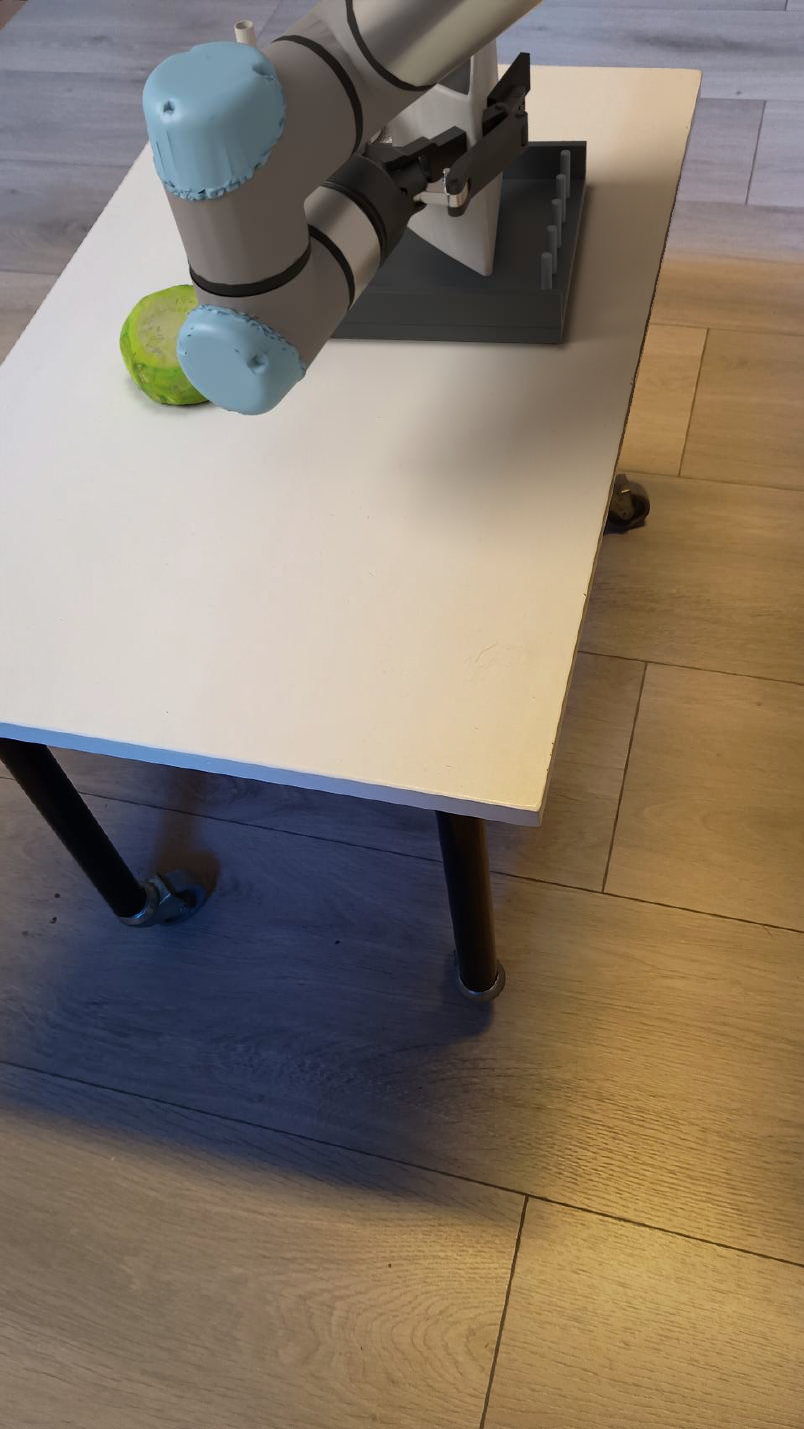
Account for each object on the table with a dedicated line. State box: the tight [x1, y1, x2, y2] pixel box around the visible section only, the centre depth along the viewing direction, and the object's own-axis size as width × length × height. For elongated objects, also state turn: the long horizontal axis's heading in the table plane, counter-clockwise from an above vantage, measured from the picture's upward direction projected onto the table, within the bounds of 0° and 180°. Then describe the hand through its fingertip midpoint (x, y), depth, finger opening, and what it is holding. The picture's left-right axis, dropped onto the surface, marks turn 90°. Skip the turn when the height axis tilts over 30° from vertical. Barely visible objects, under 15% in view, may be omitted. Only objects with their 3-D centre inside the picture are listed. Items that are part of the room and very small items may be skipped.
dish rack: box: [329, 140, 588, 345], centre depth 93 cm, size 20×21×6 cm
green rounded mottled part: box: [119, 283, 209, 406], centre depth 90 cm, size 12×11×5 cm
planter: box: [388, 38, 503, 277], centre depth 85 cm, size 16×8×19 cm, turn 174°
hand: (467, 63), depth 86 cm, fingers closed on planter, 9 cm apart
